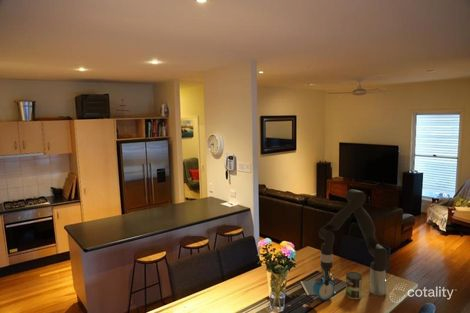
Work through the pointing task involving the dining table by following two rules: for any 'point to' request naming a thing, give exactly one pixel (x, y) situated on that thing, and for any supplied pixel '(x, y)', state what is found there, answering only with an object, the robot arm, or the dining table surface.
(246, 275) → the dining table surface
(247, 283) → the dining table surface
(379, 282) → the robot arm
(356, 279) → the coffee can
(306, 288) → the mat
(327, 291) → the alarm clock
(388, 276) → the dining table surface
